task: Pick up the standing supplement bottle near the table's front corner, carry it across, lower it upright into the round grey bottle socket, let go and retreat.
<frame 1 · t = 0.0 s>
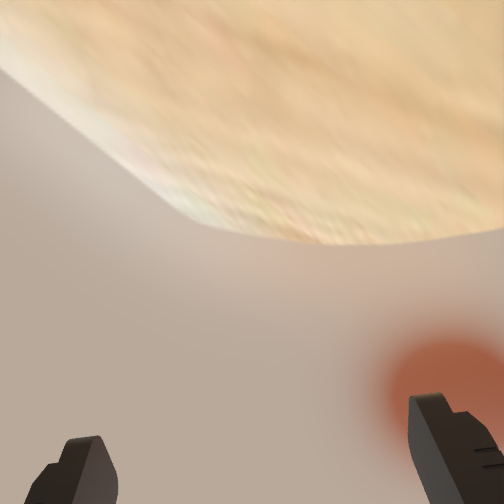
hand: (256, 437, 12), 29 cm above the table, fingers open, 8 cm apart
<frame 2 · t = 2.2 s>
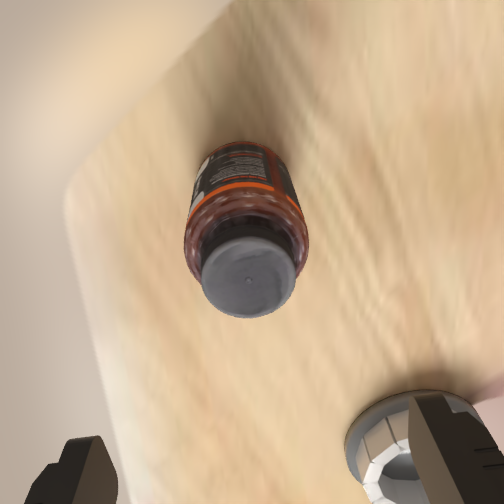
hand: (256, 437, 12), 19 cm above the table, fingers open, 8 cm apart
supplement bottle: (242, 185, 29), on the table
bottle socket: (412, 440, 40), on the table
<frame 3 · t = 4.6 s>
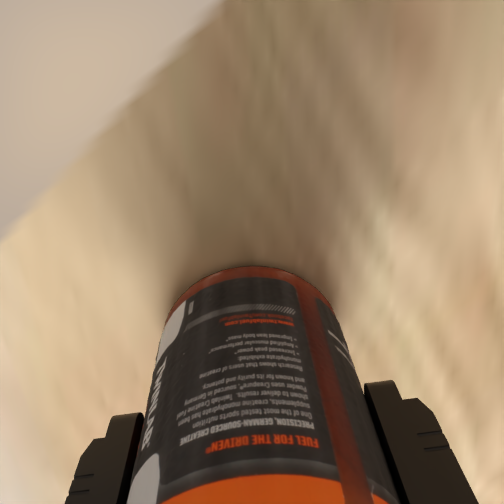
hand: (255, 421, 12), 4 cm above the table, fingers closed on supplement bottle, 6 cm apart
supplement bottle: (250, 330, 16), on the table, touching gripper
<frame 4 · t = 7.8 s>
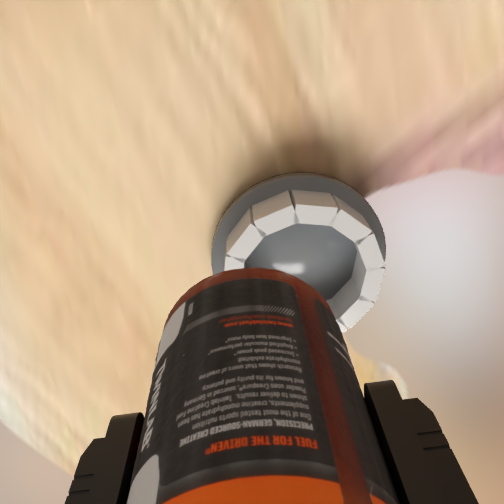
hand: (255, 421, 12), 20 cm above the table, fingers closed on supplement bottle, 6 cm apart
supplement bottle: (250, 331, 16), point 16 cm above the table, touching gripper
bottle socket: (297, 254, 32), on the table
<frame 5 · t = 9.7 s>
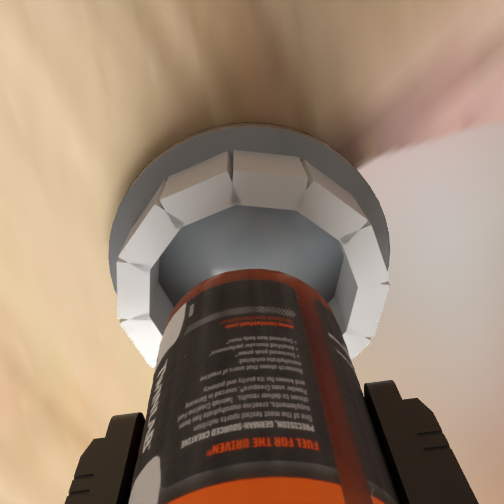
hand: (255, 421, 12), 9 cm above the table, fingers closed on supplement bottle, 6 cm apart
supplement bottle: (250, 332, 16), point 5 cm above the table, touching gripper
bottle socket: (249, 258, 21), on the table
when the fingers open (6 cm above the table, at t = 11.3 s): supplement bottle stays where it is, resting on bottle socket.
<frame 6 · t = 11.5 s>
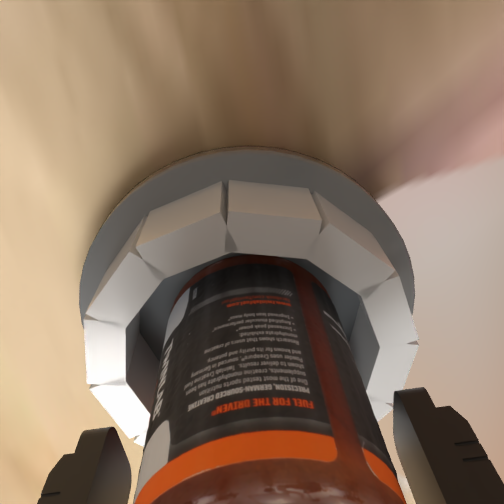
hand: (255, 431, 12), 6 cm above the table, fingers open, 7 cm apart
supplement bottle: (251, 316, 17), point 1 cm above the table, touching bottle socket
bottle socket: (248, 302, 18), on the table
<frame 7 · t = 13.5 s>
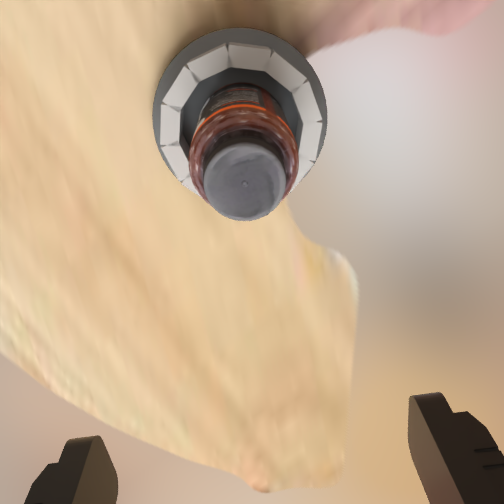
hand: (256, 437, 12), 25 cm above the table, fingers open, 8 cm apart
supplement bottle: (241, 125, 32), point 1 cm above the table, touching bottle socket
bottle socket: (240, 121, 32), on the table
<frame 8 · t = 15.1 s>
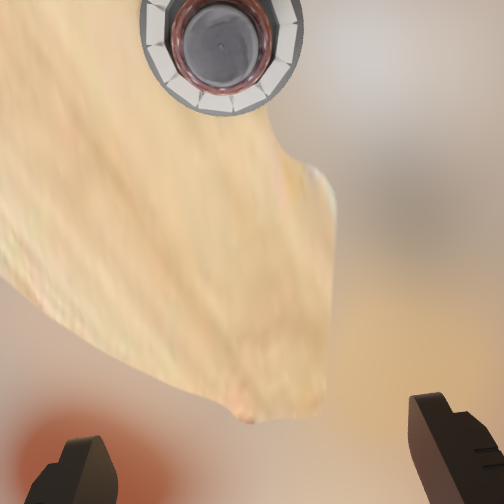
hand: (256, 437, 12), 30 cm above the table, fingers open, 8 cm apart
supplement bottle: (223, 34, 34), point 1 cm above the table, touching bottle socket
bottle socket: (222, 32, 35), on the table
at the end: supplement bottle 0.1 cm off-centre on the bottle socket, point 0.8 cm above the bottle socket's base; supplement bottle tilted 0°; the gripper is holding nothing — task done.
